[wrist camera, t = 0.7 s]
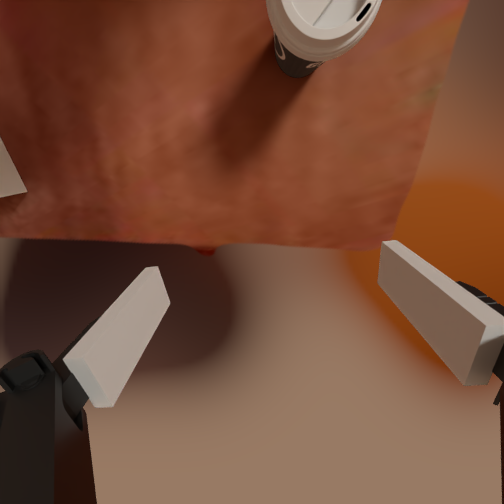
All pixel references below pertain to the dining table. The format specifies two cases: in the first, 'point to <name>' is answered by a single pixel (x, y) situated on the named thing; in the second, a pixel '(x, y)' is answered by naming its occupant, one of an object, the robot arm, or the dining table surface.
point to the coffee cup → (317, 30)
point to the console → (9, 175)
